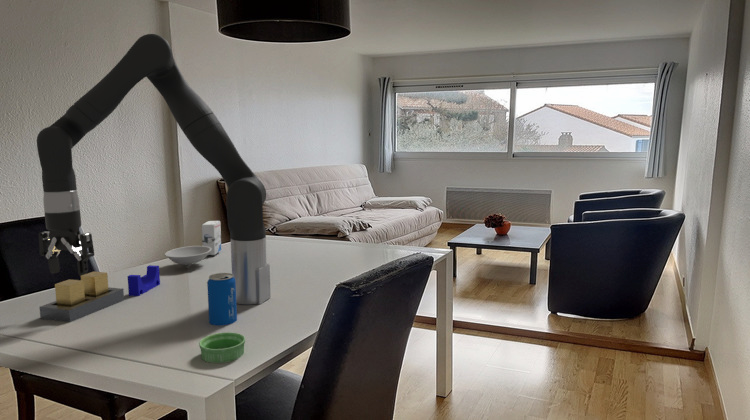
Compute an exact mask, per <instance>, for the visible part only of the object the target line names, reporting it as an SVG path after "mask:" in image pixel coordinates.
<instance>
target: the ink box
mask: <svg viewBox="0 0 750 420" xmlns="http://www.w3.org/2000/svg"><path fill="white" fill-rule="evenodd" d="M221 226H222V225H221V221H220V220H208V221H206V222H205V223H204V222H203V224H201V237H202V238H201V239H202V240H201V244H202V245H201V246H208V247H211V248H212V250H211V251H210V252H209V253H208V255H207V256H215V255H216V254H218V253H219V252H221V250H222V233H221V232H222V231H221Z"/></svg>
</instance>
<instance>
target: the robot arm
mask: <svg viewBox="0 0 750 420" xmlns="http://www.w3.org/2000/svg"><path fill="white" fill-rule="evenodd" d="M145 78H147V79H148V81H150V83H151V84H152V85H153V86H154V88H155V89H156V90H157V91H158V92H159V94H160V95H161V96H162V98H163V100H164V101H165V103H166V104H167V106H168V108H169V111H170V112H171V114H172V116H173V118H174V119H175V121H176V123H177V124H178V126H179V128H180V129H181V131H182V133H183V134H184V135H185V137H186V139H187V140H188V141H189V143H190V144H191V146H192V147H193V149H195V150H196V151H197V153H199V154H200V155H201V156H202V157H203V158H204V159H205V160H206V161H207V162H208V163H209V165H212V167H214V169H215V170H216V171H217V172H218V173H219V175H220V176H221V178H222V179H223V180H224V183H225V184H226V185H227V188H228V189H227V190H226V191H227V192H226V214H227V215H226V217H227V226H228V230H229V233H230V237H229V238H230V256H231V257H230V260H231V262H230V263H231V274H233V277H234V278H235V281H236V305H237V304H238V305H261V304H262V303H264V302H265V301H267V300H269V299H271V296H272V295H271V266H270V264H269V263H267V261H268V260H267V236H266V235H267V233H266V232H267V231H266V227H265V224H264V209H263V208H264V207H263V206H264V204H265V202H266V199H267V190H266V187H265V185H264V183H263V181H261V180H260V179H259V177H258V176H257V175H256V174H255V173H254V171H252V169H251V168H250V167H249V166H248V164H247V163H246V162H245V161H244V160H243V158H242V156H241V155H240V153H239V151H238V150H237V148H236V147H235V145H234V143H233V141H232V139H231V138H230V136H229V134H228V133H227V132H226V130H225V128H224V127H223V125H222V123H221V121H220V120H219V119H218V117H217V116H216V114H215V113H214V111H213V110H212V109H211V108H210V107H209V105H208V104H207V103H206V102H205V101H204V99H202V98H201V96H200V95H199V94H198V93H197V92H195V90H193V88H192V86H190V85H189V84H188V81H187V80H186V79H185V76H184V75H183V74H182V72H181V70H180V68H179V67H178V65H177V63H176V61H175V57H174V55H173V50H172V47H171V45H170V43H169V41H168V40H167V39H165V38H164V37H163V36H161V35H159V34H156V33H147V34H144V35H141V36H140V37H139V38H137V40H135V42H134V43H133V44H132V45H131V47H130V48H129V49H128V50H127V52H126V53H125V54H124V55H123V57H122V58H121V59H120V61H118V62H117V63H116V65H115V66H113V68H112V69H111V70H110V71H109V72H108V73H106V75H105V76H104V77H103V78H101V79H100V80H99V82H98V83H96V84H95V85H94V86H93V87H92V88H90V89H89V90H88V91H87V92H86V93H85V94H84V95H82V96H81V97H79V98H78V100H76V101H75V102H74V103H73V104H72V105H70V106H69V108H68V109H67V110H66V112H65V113H64V114H63V115H61V116H60V118H58V119H57V120H56V121H54V122H53V123H52V124H51V125H50V126H47V127H44V128H43V129H41V130H40V131H39V133H38V134H37V136H36V148H37V154H38V155H37V156H38V159H39V163H40V168H41V180H42V191H43V199H42V200H43V212H44V222H45V228H46V230H47V231H41V232H39V233H38V247H39V249H38V250H39V255H40V257H43V256H44V257H45V258H46V259H47V263H48V269H49V273H50V274H56V273H57V274H58V273H59V272H60V271H61V270H60V269H61V268H60V259H59V258H60V257H59V254H60V252H61V251H67V252H70V254H72V255H74V257H75V259H77V260H76V266H77V274H78V275H79V276H81V275H85V274H88V273H89V262H88V261H89V258H92V257H94V256H95V248H94V241H93V236H92V235H93V234H92V233H91V232H86V233H81V232H80V228H81V226H82V216H81V208H80V207H81V206H80V199H79V195H78V190H77V178H76V173H75V169H74V168H73V153H72V152H73V151H72V149H73V148H74V147H75V146H76V145H77V144H78V143H79V142H80V141H81V140H83V138H84V137H85V136H86V135H87V134H88V133H90V132H91V131H92V130H94V129H96V127H97V126H99V125H100V124H101V123H102V122H103V121H104V120H106V119H107V118H108V117H109V116H110V115H111V114H112V113H113V112H114V111H115V110H116V108H117V107H119V105H120V104H121V103H122V101H123V100H124V99H125V98H126V96H127V94H129V92H130V91H132V89H133V88H134V87H135V86H136V85H137V84H139V83H140V82H141V81H142V80H143V79H145Z"/></svg>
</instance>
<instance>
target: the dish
mask: <svg viewBox="0 0 750 420" xmlns="http://www.w3.org/2000/svg"><path fill="white" fill-rule="evenodd" d="M211 250H212V248H211V247H208V246H202V245H187V246H180V247H177V248H173V249H170V250H168V251H165V253H164V256H165V257H167V258H168V259H169V260H170V261H171V262H173V263H175V264H178V265H186V266H188V267H189V266H193V265H194V264H196V263H199V262H201V261H203V260H204V259H205V258H206V257H208V256H209V255H208V253H209V252H210V251H211Z"/></svg>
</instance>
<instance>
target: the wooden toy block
mask: <svg viewBox="0 0 750 420" xmlns="http://www.w3.org/2000/svg"><path fill="white" fill-rule="evenodd" d="M54 288H55V289H54V290H55V301H56V303H57V306H65V307H73V306H75V305H78V304H80V303H83V302H85V293H84V281H81V279H80V280H79V279H67V280H63V281H60V282H58V283H55V284H54Z"/></svg>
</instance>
